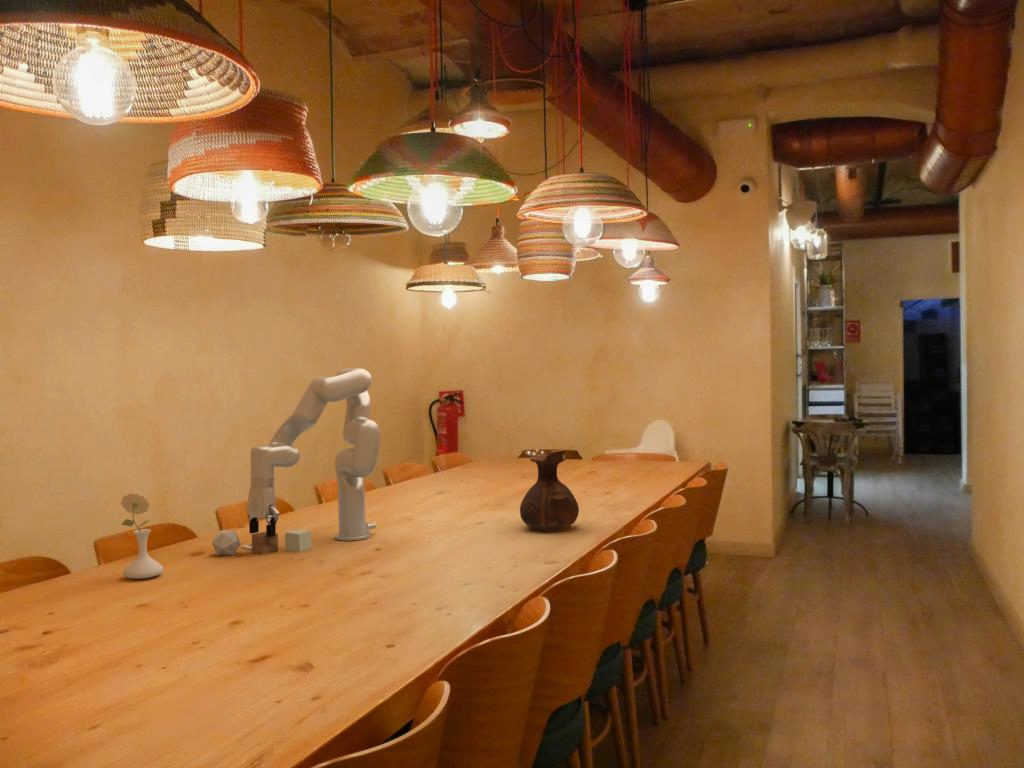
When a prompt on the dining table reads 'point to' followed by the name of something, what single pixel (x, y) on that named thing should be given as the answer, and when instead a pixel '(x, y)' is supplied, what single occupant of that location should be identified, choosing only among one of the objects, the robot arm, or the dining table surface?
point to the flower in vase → (139, 540)
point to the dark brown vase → (549, 497)
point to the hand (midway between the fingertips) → (262, 534)
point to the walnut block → (264, 543)
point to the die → (226, 542)
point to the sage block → (298, 540)
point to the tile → (248, 546)
